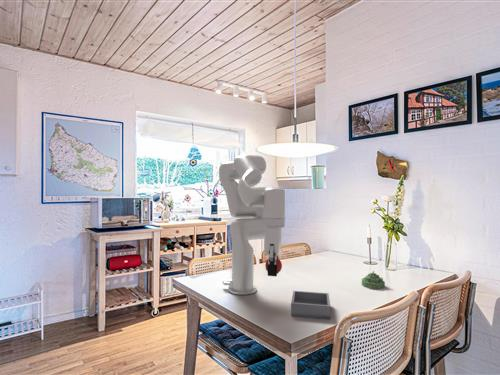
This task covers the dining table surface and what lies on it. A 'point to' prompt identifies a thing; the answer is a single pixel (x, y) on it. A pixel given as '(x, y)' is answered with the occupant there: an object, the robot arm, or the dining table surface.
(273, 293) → the dining table surface
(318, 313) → the tray
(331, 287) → the dining table surface
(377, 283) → the decorative artifact
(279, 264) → the onion
